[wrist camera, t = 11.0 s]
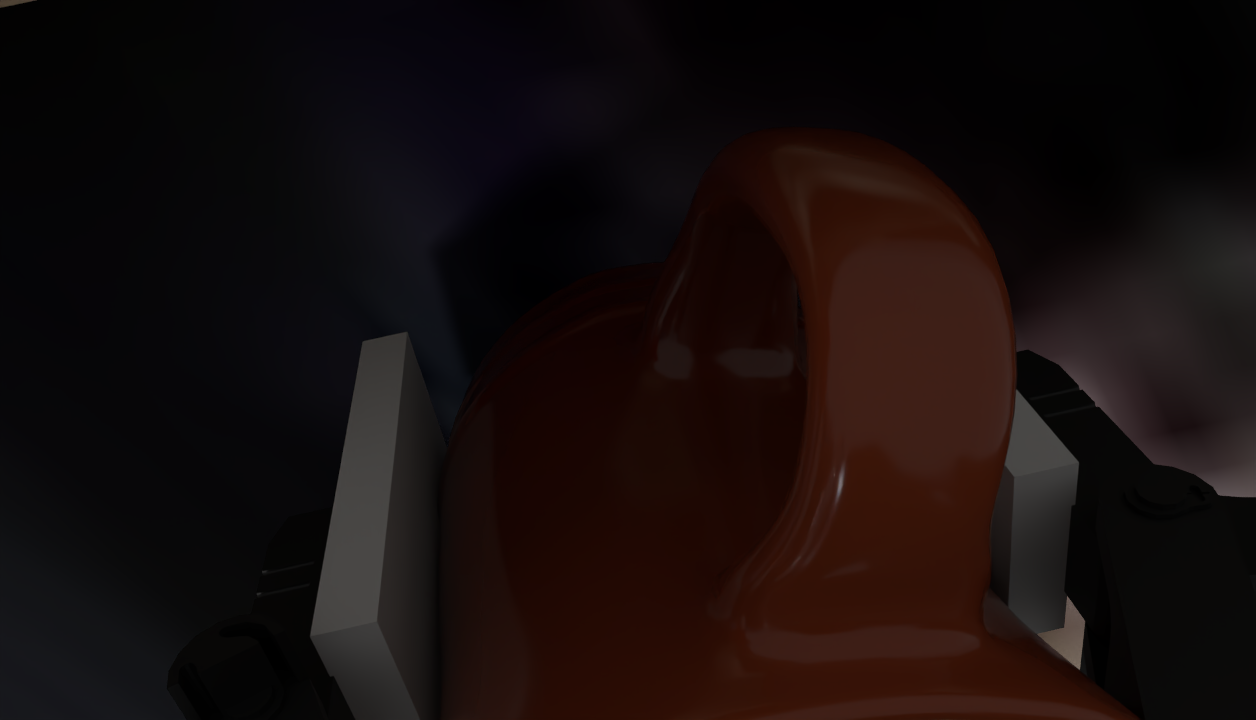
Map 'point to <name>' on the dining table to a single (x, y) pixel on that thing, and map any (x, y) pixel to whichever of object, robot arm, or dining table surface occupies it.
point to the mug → (752, 469)
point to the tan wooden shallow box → (12, 2)
